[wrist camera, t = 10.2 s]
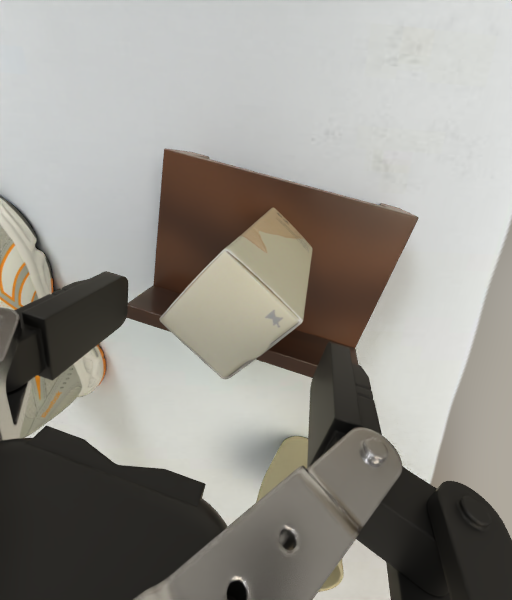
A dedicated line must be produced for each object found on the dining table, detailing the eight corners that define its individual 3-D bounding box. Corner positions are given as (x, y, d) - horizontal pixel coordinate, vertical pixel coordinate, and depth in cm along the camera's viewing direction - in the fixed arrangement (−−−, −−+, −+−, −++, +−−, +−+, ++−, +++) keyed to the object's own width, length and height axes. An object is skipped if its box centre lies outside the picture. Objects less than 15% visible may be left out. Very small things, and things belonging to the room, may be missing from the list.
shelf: (192, 152, 24) (130, 143, 16) (399, 208, 23) (443, 228, 15) (177, 277, 30) (125, 317, 22) (345, 329, 28) (355, 392, 20)
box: (273, 205, 20) (230, 239, 10) (315, 249, 21) (311, 321, 11) (226, 254, 22) (153, 322, 12) (265, 292, 23) (224, 385, 13)
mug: (256, 463, 39) (233, 573, 29) (275, 414, 35) (256, 522, 24) (333, 490, 39) (339, 614, 28) (362, 444, 34) (383, 569, 23)
